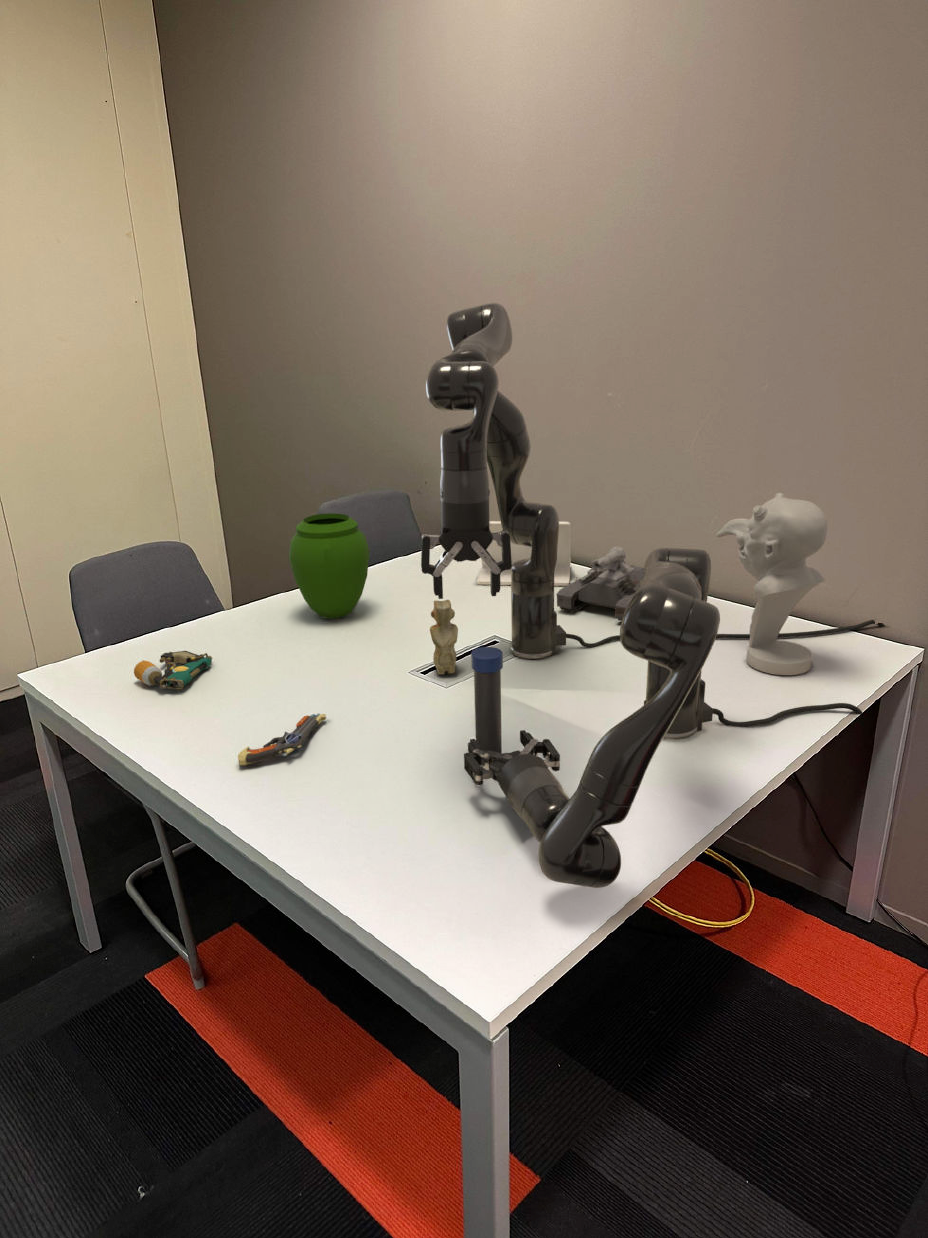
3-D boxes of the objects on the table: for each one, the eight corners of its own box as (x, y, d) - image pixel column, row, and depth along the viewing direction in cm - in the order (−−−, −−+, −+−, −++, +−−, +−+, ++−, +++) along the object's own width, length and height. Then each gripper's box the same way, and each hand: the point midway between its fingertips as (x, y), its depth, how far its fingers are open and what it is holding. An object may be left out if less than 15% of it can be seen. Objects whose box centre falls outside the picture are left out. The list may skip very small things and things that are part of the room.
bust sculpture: (745, 630, 196) (760, 478, 183) (832, 666, 176) (855, 499, 163) (692, 644, 189) (703, 487, 176) (776, 683, 169) (796, 510, 156)
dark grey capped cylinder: (489, 751, 147) (486, 648, 141) (507, 759, 144) (506, 655, 138) (471, 760, 145) (467, 655, 138) (489, 769, 142) (486, 663, 135)
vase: (389, 608, 216) (383, 514, 208) (339, 633, 201) (330, 533, 192) (330, 596, 226) (322, 506, 218) (278, 619, 211) (267, 523, 202)
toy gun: (232, 755, 143) (287, 753, 141) (276, 711, 161) (326, 708, 159) (235, 770, 144) (291, 767, 142) (279, 724, 162) (329, 722, 160)
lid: (487, 657, 142) (486, 644, 141) (509, 666, 138) (509, 652, 137) (465, 667, 139) (464, 653, 138) (487, 675, 135) (486, 661, 134)
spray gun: (177, 659, 191) (231, 671, 185) (120, 684, 176) (176, 698, 171) (176, 641, 190) (230, 653, 184) (118, 665, 175) (174, 678, 169)
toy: (603, 584, 229) (605, 530, 224) (673, 597, 218) (677, 540, 213) (555, 612, 210) (556, 553, 205) (630, 627, 199) (633, 566, 194)
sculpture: (458, 662, 183) (456, 596, 178) (460, 676, 176) (457, 608, 171) (431, 663, 183) (428, 597, 177) (431, 677, 176) (428, 609, 171)
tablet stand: (569, 585, 229) (570, 524, 223) (476, 584, 232) (475, 523, 226) (570, 566, 246) (571, 508, 240) (484, 564, 249) (483, 507, 243)
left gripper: (507, 489, 135) (507, 587, 141) (417, 493, 134) (421, 591, 140) (514, 499, 128) (514, 601, 134) (419, 503, 127) (423, 606, 133)
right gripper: (578, 759, 124) (538, 711, 139) (486, 777, 121) (454, 726, 135) (577, 803, 127) (537, 752, 142) (487, 822, 123) (455, 767, 138)
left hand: (466, 596), depth 137 cm, fingers open, 8 cm apart
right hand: (497, 739), depth 138 cm, fingers open, 8 cm apart
